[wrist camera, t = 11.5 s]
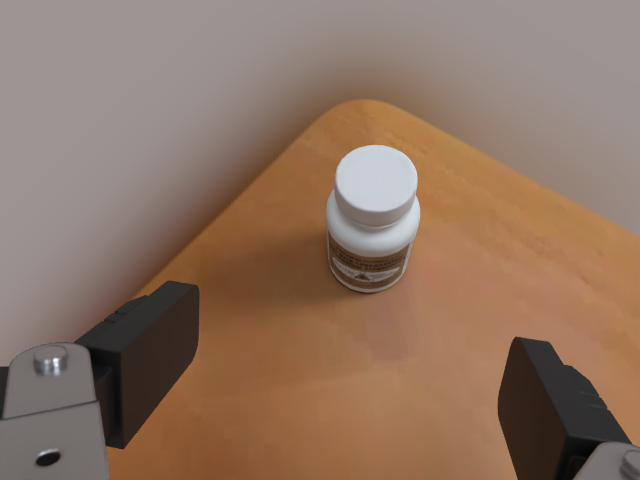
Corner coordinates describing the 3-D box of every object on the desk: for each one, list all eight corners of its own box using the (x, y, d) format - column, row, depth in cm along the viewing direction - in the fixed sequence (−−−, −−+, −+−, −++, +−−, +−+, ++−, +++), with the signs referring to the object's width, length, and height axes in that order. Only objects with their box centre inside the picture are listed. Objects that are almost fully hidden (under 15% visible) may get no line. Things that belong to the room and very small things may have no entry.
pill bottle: (323, 290, 26) (316, 217, 19) (333, 220, 28) (330, 131, 21) (405, 299, 25) (428, 227, 18) (408, 227, 27) (431, 139, 20)
